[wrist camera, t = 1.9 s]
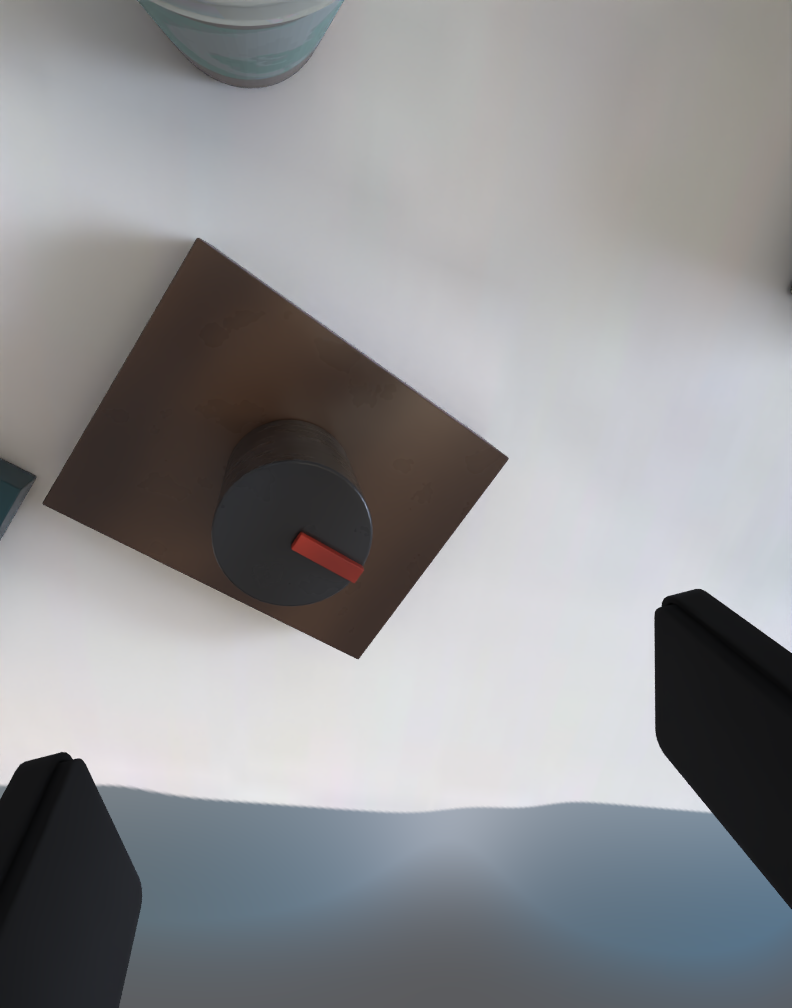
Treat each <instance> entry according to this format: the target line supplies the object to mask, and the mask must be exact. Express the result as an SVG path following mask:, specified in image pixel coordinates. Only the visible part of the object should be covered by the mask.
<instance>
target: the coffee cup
mask: <svg viewBox="0 0 792 1008" xmlns="http://www.w3.org/2000/svg"><path fill="white" fill-rule="evenodd" d="M137 1H138V2H139V3H140V4H141V6H142V7H143V8H144V9H145V10H146V11H147V13H148V14H149V15H150V16H151V17H152V19H153V20H154V21H155V22H156V23H157V25H158V26H159V27H160V28H161V29H162V31H163V32H164V33H165V34H166V35H167V36H168V38H169V39H170V40H171V41H172V42H173V43H174V44H175V45H176V47H177V48H178V49H179V50H180V51H181V52H182V53H183V55H184V56H185V57H186V58H187V59H188V60H189V61H190V62H191V63H193V64H194V65H195V66H196V67H197V68H199V69H200V70H201V71H203V72H204V73H206V74H207V75H209V76H211V77H212V78H214V79H216V80H219V81H221V82H223V83H226V84H229V85H233V86H237V87H243V88H261V87H267V86H271V85H274V84H277V83H279V82H282V81H284V80H285V79H287V78H289V77H290V76H292V75H293V74H295V73H296V72H297V71H298V70H299V69H300V68H301V67H302V66H303V65H304V64H305V63H306V62H307V61H308V59H309V58H310V57H311V55H312V54H313V52H314V50H315V49H316V47H317V45H318V44H319V42H320V40H321V39H322V37H323V36H324V34H325V32H326V30H327V29H328V27H329V25H330V24H331V22H332V20H333V18H334V17H335V15H336V13H337V11H338V10H339V8H340V6H341V4H342V3H343V1H344V0H137Z"/></svg>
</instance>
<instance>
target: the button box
mask: <svg viewBox="0 0 792 1008" xmlns="http://www.w3.org/2000/svg"><path fill="white" fill-rule="evenodd" d="M35 479H36V476H34V475H32V474H30V473H28V472H26V471H24V470H22V469H20V468H18V467H16V466H14V465H13V464H11V463H9V462H7V461H5V460H3V459H1V458H0V540H1V538H2V536H3V535H4V533H5V531H6V530H7V528H8V526H9V524H10V523H11V521H12V519H13V517H14V516H15V514H16V512H17V510H18V509H19V507H20V505H21V503H22V502H23V500H24V498H25V496H26V495H27V493H28V491H29V490H30V488H31V486H32V484H33V483H34V481H35Z"/></svg>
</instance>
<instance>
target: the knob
mask: <svg viewBox="0 0 792 1008" xmlns="http://www.w3.org/2000/svg"><path fill="white" fill-rule="evenodd" d="M372 537H373V526H372V518H371V515H370V511H369V508H368V506H367V503H366V501H365V498H364V496H363V493H362V491H361V488H360V486H359V483H358V481H357V479H356V476H355V474H354V471H353V469H352V466H351V464H350V461H349V459H348V457H347V454H346V452H345V451H344V449H343V447H342V446H341V445H340V443H339V442H338V441H337V440H336V439H335V438H334V437H333V436H332V435H331V434H329V433H328V432H327V431H325V430H324V429H322V428H320V427H318V426H316V425H314V424H311V423H308V422H304V421H300V420H278V421H273V422H269V423H266V424H264V425H261V426H259V427H257V428H255V429H254V430H252V431H251V432H249V433H248V434H247V435H245V436H244V437H243V438H242V439H241V440H240V441H239V443H238V444H237V445H236V447H235V448H234V450H233V451H232V453H231V455H230V458H229V460H228V463H227V467H226V471H225V474H224V478H223V482H222V486H221V490H220V494H219V498H218V502H217V506H216V510H215V513H214V518H213V522H212V531H211V538H212V546H213V551H214V555H215V557H216V560H217V562H218V564H219V566H220V568H221V570H222V571H223V573H224V574H225V575H226V577H227V578H228V579H229V580H230V581H231V582H232V583H233V584H234V585H235V586H236V587H237V588H238V589H240V590H241V591H242V592H244V593H245V594H247V595H249V596H251V597H252V598H255V599H257V600H259V601H262V602H265V603H269V604H273V605H279V606H302V605H308V604H313V603H316V602H319V601H322V600H324V599H327V598H329V597H331V596H333V595H334V594H336V593H338V592H339V591H341V590H342V589H343V588H345V587H346V586H347V585H348V584H349V583H350V582H352V583H355V582H356V581H357V579H358V578H359V577H360V575H361V574H362V573H363V571H364V568H363V565H364V564H365V561H366V559H367V557H368V555H369V551H370V548H371V543H372Z"/></svg>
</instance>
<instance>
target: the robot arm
mask: <svg viewBox="0 0 792 1008" xmlns="http://www.w3.org/2000/svg"><path fill="white" fill-rule="evenodd" d="M654 619H655V731H656V737H657V741H658V743H659V746H660V748H661V749H662V751H663V753H664V754H665V756H666V757H667V758H668V759H669V761H670V762H671V763H672V764H673V765H674V767H675V768H676V769H677V770H678V772H679V773H680V774H681V775H682V776H683V778H684V779H685V780H686V781H687V782H688V784H689V785H690V786H691V787H692V789H693V790H694V791H695V792H696V793H697V795H698V796H699V797H700V798H701V800H702V801H703V802H704V803H705V804H706V806H707V807H708V808H709V809H710V810H711V812H712V813H713V814H714V815H715V817H716V818H717V819H718V820H719V821H720V823H721V824H722V825H723V826H724V827H725V829H726V830H727V831H728V832H729V834H730V835H731V836H732V837H733V839H734V840H735V841H736V842H737V843H738V845H739V846H740V847H741V848H742V849H743V851H744V852H745V853H746V854H747V856H748V857H749V858H750V859H751V860H752V862H753V863H754V864H755V865H756V866H757V868H758V869H759V870H760V871H761V872H762V874H763V875H764V876H765V877H766V879H767V880H768V881H769V882H770V884H771V885H772V886H773V887H774V888H775V890H776V891H777V892H778V893H779V895H780V896H781V897H782V898H783V899H784V901H785V902H786V903H787V904H788V906H789V907H790V908H791V909H792V653H791V652H789V651H788V650H786V649H785V648H784V647H782V646H781V645H780V644H778V643H777V642H775V641H774V640H773V639H771V638H770V637H768V636H767V635H766V634H764V633H763V632H761V631H760V630H759V629H757V628H756V627H754V626H753V625H752V624H750V623H749V622H748V621H746V620H745V619H743V618H742V617H741V616H739V615H738V614H736V613H735V612H734V611H732V610H731V609H729V608H728V607H727V606H725V605H724V604H723V603H721V602H720V601H718V600H717V599H716V598H714V597H713V596H711V595H710V594H709V593H707V592H706V591H704V590H702V589H694V590H690V591H686V592H683V593H679V594H675V595H671V596H667V597H666V598H664V600H663V602H662V607H660V608H658V609H656V611H655V617H654ZM141 903H142V888H141V882H140V879H139V876H138V875H137V872H136V870H135V868H134V866H133V864H132V862H131V859H130V857H129V855H128V853H127V851H126V849H125V847H124V845H123V843H122V841H121V838H120V836H119V834H118V832H117V830H116V828H115V826H114V824H113V821H112V819H111V817H110V815H109V813H108V811H107V809H106V806H105V804H104V802H103V800H102V798H101V796H100V794H99V792H98V790H97V787H96V785H95V783H94V781H93V779H92V777H91V775H90V773H89V770H88V768H87V766H86V764H85V763H84V761H83V760H81V759H72V758H71V756H70V755H69V754H67V753H66V752H61V753H57V754H53V755H49V756H45V757H41V758H38V759H34V760H30V761H26V762H24V763H22V764H20V766H19V767H18V768H17V770H16V771H15V773H14V775H13V777H12V779H11V780H10V782H9V784H8V786H7V788H6V790H5V792H4V793H3V795H2V797H1V799H0V1008H119V1003H120V999H121V995H122V990H123V986H124V981H125V977H126V972H127V968H128V963H129V959H130V954H131V949H132V945H133V941H134V936H135V931H136V926H137V922H138V918H139V913H140V909H141Z"/></svg>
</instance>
